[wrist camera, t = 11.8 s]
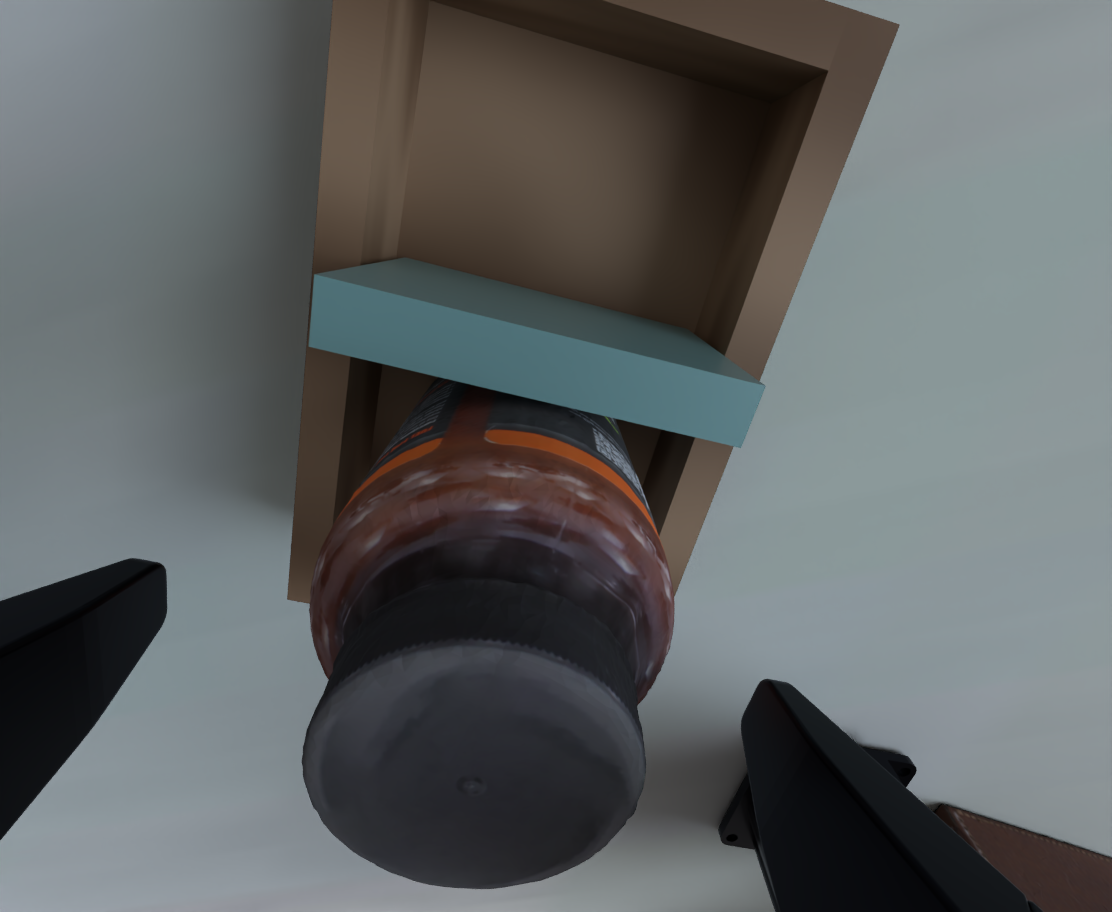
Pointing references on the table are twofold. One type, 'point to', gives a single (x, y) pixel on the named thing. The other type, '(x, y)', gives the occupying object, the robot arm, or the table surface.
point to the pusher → (533, 347)
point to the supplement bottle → (487, 643)
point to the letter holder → (1038, 863)
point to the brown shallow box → (578, 192)
